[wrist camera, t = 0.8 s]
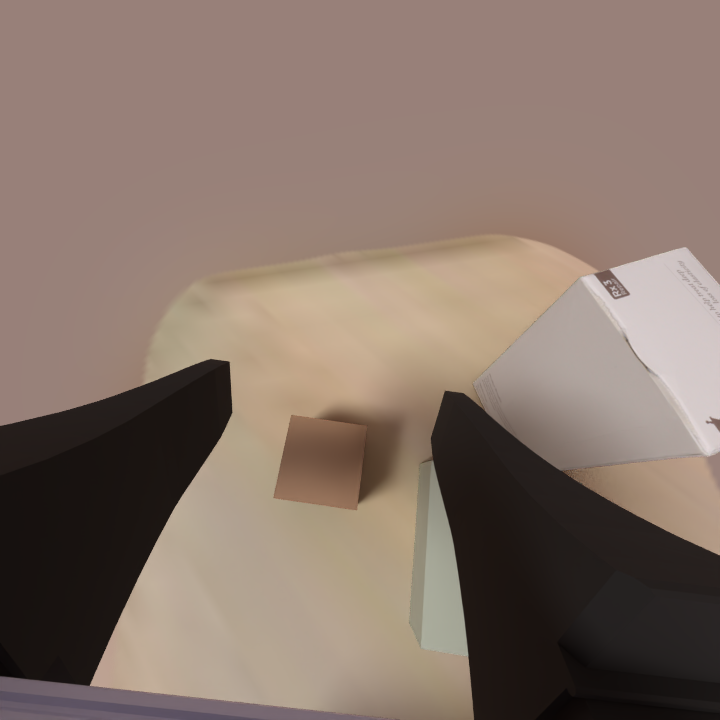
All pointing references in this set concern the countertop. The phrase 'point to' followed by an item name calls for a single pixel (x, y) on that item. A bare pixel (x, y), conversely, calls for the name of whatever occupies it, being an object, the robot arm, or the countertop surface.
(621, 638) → the robot arm
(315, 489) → the walnut cube
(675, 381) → the skincare box
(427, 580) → the sage block
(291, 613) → the countertop surface
